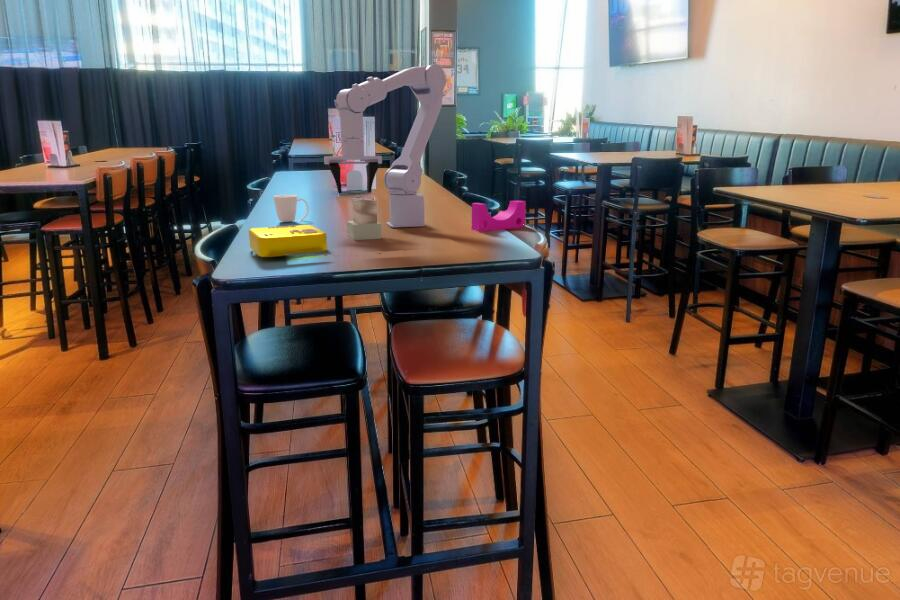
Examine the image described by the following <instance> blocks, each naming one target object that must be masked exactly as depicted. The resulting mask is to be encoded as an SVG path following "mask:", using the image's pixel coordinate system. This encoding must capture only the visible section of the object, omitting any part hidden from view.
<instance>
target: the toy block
mask: <svg viewBox="0 0 900 600" xmlns="http://www.w3.org/2000/svg"><path fill="white" fill-rule="evenodd" d="M526 205H527V203H526V201H524V200H509V204H508V207H507V209H506V210H500V211H499V212H498V213H497V214H496V215H494V216H491V215H490V213H489V212H488V209H487V204H486V203H480V202H471V230H472V229H473V230H472V231H474V230H476V231H475V232H477V231H479V232H478V233H481V232H480V231H484V232H490V231H489V230H493V231H499V230H500V231H501V230H510V229H519V228H524V227H523V226H525V227H526ZM523 224H524V225H523Z"/></svg>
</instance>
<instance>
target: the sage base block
mask: <svg viewBox="0 0 900 600" xmlns="http://www.w3.org/2000/svg"><path fill="white" fill-rule="evenodd" d="M346 225H347V226H346V227H347V229H346V230H347V237H349V238H350V239H351V240H352V241H359V240H360V241H361V240H362V241H363V240H376V239H378V240H379V239H382V237H383V236H382V223H381V222H379V221H377V223H370V224H358V223H355V222H353V220H346Z"/></svg>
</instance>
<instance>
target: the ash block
mask: <svg viewBox="0 0 900 600" xmlns="http://www.w3.org/2000/svg"><path fill="white" fill-rule="evenodd" d="M351 203H352V221H353V222H355V223H358V224H370V223H377V222H378V201H377V200H376V199H370V198H364V199H363V198H362V199H352V201H351Z"/></svg>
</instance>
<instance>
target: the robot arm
mask: <svg viewBox="0 0 900 600" xmlns="http://www.w3.org/2000/svg"><path fill="white" fill-rule="evenodd" d="M447 82H448V81H447V78H446V74H445V72H444V69H443V67H442V66H441V65H439V64H437V63H433V64H430V65H422V66H415V65H414V66H412V67H408V68H405V69H402V70H399V71H398V72H396V73H393V74H391V75H390V76H387V77H385V78H383V79H380V78H379V77H374V76H368V77H367V78H366V81H363V82H361V83H359V84H358V83H354V84H352V85H351V88H344V89H341V90H340V91H338V93H337V94H336V96H335V97H336V99H334V106H335V108H336V110H337V111H338V115H339V121H340V122H339V123H340V138H341V139H340V141H341V142H340V144H341V146H340V147H341V155H336V156H335V155H332V156H331V155H330V156H329V155H326V156H324V157H323V161H324V163H323V164H324V165H328V168H329V171H330V172H331V174H332V176H333V179H334V181H335V185H336V189H337V193H338V194H342V182H341V181H342V180H341V166H340V165H356V164H357V165H358V164H359V165H361V164H363V165H364V164H366V165H365V168H366V191H367V193H372V188H373V184H374V183H373V182H374V179H375V176H376V175H377V171H378V169H379V165H380V164H383V157H382V155H365V139H364V137H365V135H364V134H365V133H364V113H363V112H364V111H366V109H367V107H369V106H373V105H374V104H376V103H379V102H381V101H383V100H385V99H386V98H387V94H388V93H389V92H392V91H394V90H396V89H399V88H403V87H404V86H406V87H409V89H411V91H412V93H413V94H414V97H415V98H416V99H417V101H418V102H419V103H420V106H419V109H418V112H417V114H416V117H415V119H414V121H413V124H412V127H411V128H410V131H409V134H408V135H407V138H406V141H405V143H404V146H403V148H402V151H401V154H400V156H399V157H398V158H396V159H395V160H394V161H393V162H392V164H391V165H390V167H389V168H388V169H387V170H386V171H385V173H384V175H383V184H384V186H385V188H386V189H387V191H388V192H387V193H388V194H389V198H388V199H389V221H387V222H386V224H387V225H388V226H389V227H391V228H409V227H410V228H412V227H413V228H415V227H416V228H417V227H425V226H426V224H425V198H424V195H423V193H418V190H419V189H420V186H421V182H422V174H423V171H424V170H423V168H422V167H421V166H422V165H421V164H420V162H421V159H422V157H423V155H424V153H425V149H426V147H427V143H428V142H429V140H430V137H431V134H432V133H433V129H434V127H435V125H436V122H437V119H438V116H439V114H440V112H441V110H442V106H443V95H444V89H445V87H446V84H447Z"/></svg>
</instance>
